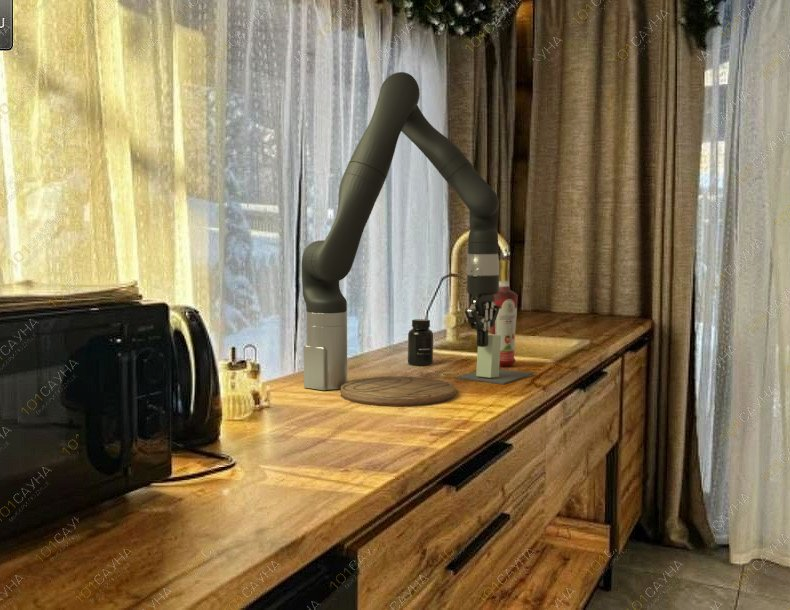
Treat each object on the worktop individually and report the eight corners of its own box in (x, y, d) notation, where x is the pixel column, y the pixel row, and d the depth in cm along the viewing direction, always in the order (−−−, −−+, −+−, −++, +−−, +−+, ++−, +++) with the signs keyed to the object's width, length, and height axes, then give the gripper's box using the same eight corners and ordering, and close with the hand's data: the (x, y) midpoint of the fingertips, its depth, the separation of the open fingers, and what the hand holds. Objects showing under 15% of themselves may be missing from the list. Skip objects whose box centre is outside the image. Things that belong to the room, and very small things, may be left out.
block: (490, 377, 179) (493, 335, 179) (476, 375, 182) (478, 333, 181) (498, 376, 182) (501, 334, 182) (484, 375, 185) (486, 333, 185)
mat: (503, 384, 175) (503, 382, 175) (455, 378, 183) (455, 376, 183) (534, 374, 188) (534, 372, 188) (488, 369, 195) (488, 367, 195)
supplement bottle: (423, 367, 198) (423, 321, 197) (402, 364, 202) (402, 320, 201) (438, 363, 204) (438, 319, 203) (417, 361, 208) (417, 317, 207)
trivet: (475, 392, 168) (476, 384, 168) (414, 414, 147) (414, 404, 147) (384, 380, 182) (384, 372, 182) (316, 398, 161) (316, 389, 161)
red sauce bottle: (509, 362, 205) (511, 259, 203) (521, 367, 198) (522, 260, 196) (484, 363, 203) (485, 260, 201) (495, 368, 196) (496, 260, 194)
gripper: (483, 271, 185) (482, 341, 186) (454, 274, 174) (454, 348, 176) (510, 272, 180) (509, 344, 182) (482, 274, 170) (482, 351, 171)
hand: (482, 346), depth 179 cm, fingers closed
